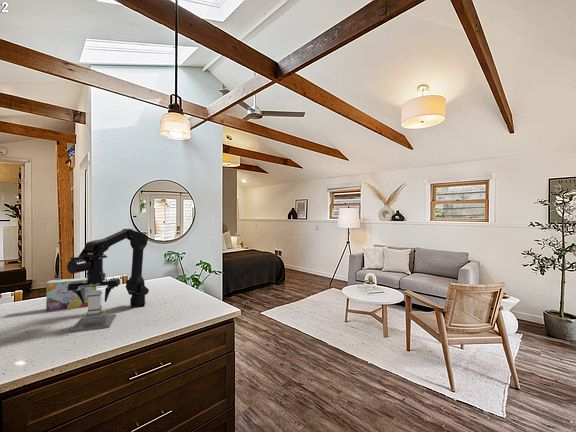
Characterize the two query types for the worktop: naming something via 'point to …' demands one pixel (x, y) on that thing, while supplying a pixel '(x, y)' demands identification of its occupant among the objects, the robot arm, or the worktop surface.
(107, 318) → the stand base
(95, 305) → the gray rectangular plug
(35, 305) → the worktop surface
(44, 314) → the worktop surface
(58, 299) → the snack box
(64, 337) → the worktop surface
